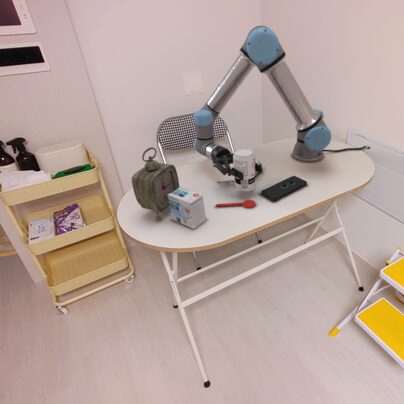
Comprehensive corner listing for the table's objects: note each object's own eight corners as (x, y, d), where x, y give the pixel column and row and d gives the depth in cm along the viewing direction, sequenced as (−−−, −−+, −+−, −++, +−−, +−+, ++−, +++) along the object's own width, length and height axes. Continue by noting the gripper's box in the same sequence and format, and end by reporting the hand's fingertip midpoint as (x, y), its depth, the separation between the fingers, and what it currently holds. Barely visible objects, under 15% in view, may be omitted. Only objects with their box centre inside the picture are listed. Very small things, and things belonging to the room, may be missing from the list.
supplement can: (232, 184, 122) (229, 149, 114) (251, 180, 125) (250, 146, 117) (238, 193, 116) (236, 158, 108) (258, 189, 119) (258, 154, 111)
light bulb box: (171, 219, 109) (166, 194, 103) (185, 210, 113) (180, 185, 107) (194, 229, 104) (189, 203, 98) (206, 219, 109) (203, 194, 103)
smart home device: (308, 181, 128) (274, 198, 117) (307, 185, 129) (274, 202, 118) (293, 174, 133) (259, 190, 122) (293, 178, 134) (259, 194, 123)
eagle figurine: (254, 166, 141) (240, 169, 135) (262, 157, 136) (247, 159, 130) (263, 179, 139) (248, 183, 133) (270, 170, 134) (255, 173, 128)
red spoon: (215, 210, 114) (215, 207, 113) (216, 203, 118) (215, 200, 117) (255, 207, 115) (255, 205, 114) (255, 200, 119) (254, 198, 118)
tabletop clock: (160, 224, 107) (144, 159, 93) (139, 218, 109) (120, 155, 95) (182, 202, 118) (171, 142, 104) (163, 198, 121) (149, 139, 107)
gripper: (239, 155, 135) (272, 173, 121) (197, 169, 124) (229, 191, 110) (238, 139, 131) (273, 156, 117) (195, 152, 120) (228, 172, 105)
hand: (252, 173), depth 113 cm, fingers closed on supplement can, 8 cm apart
